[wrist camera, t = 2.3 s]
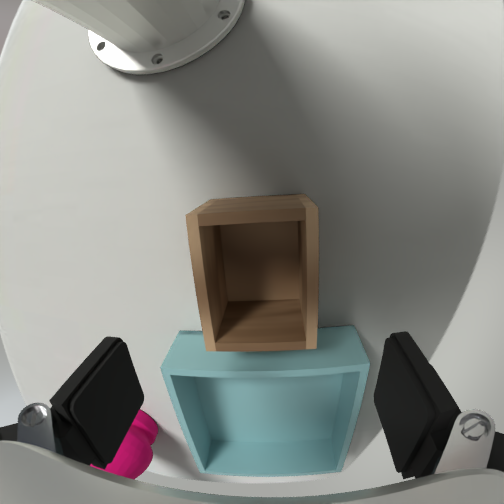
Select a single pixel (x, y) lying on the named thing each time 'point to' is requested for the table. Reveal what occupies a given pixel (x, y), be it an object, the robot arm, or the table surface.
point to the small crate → (256, 272)
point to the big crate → (268, 404)
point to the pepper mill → (135, 448)
